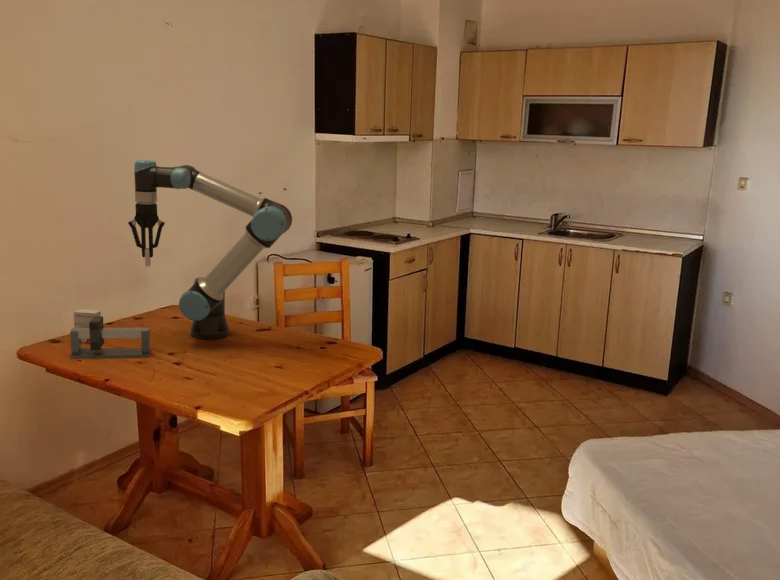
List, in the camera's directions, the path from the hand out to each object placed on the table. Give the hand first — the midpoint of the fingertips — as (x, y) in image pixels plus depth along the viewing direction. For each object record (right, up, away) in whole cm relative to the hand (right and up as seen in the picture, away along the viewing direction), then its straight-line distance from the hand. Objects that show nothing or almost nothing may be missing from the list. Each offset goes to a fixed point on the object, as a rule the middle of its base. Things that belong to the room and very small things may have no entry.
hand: (147, 265), depth 256 cm
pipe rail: (-9, -32, -11) cm, 35 cm away
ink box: (-23, -29, +2) cm, 37 cm away
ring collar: (-14, -29, -12) cm, 35 cm away
